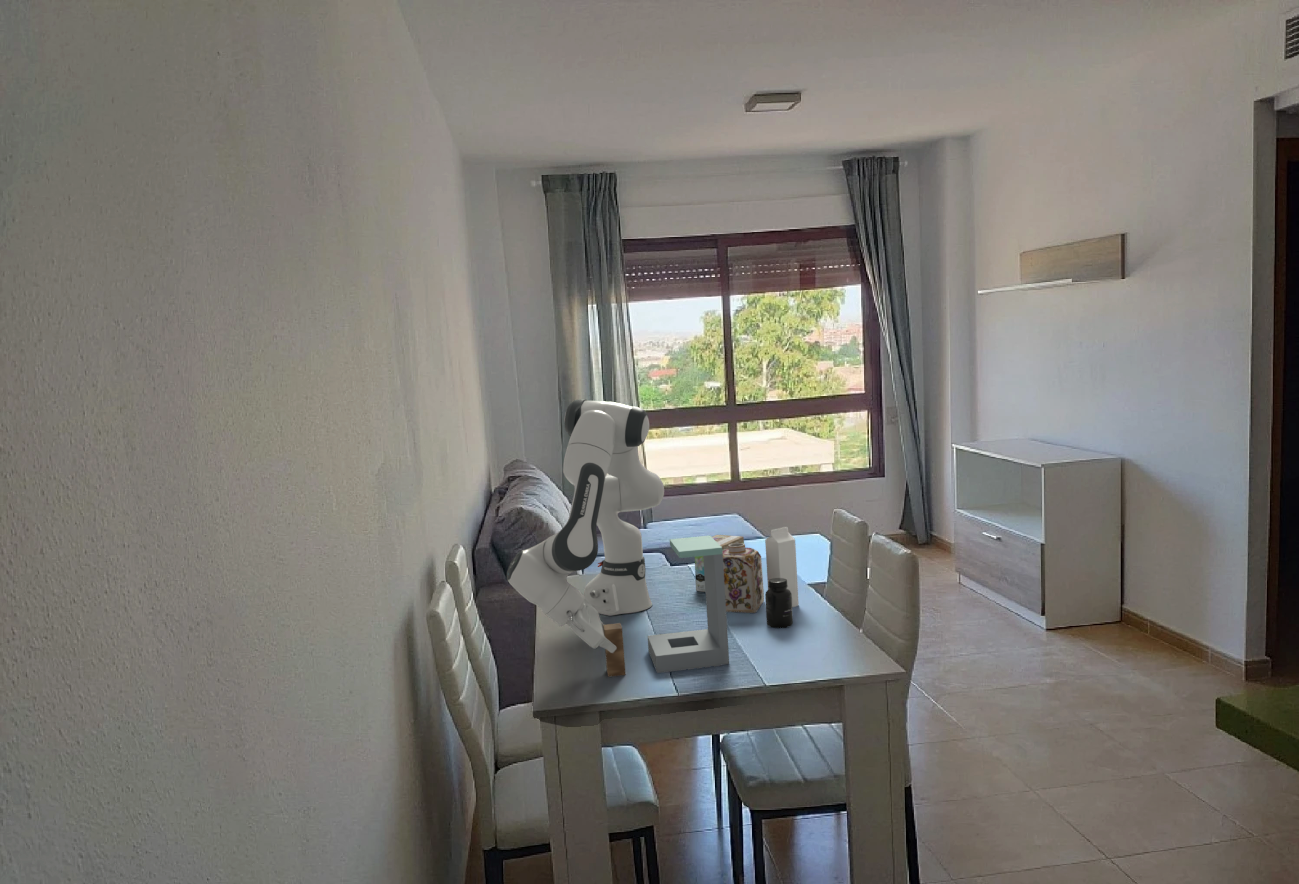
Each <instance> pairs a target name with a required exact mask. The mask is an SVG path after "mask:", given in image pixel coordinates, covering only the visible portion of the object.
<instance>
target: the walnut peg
mask: <svg viewBox="0 0 1299 884" xmlns="http://www.w3.org/2000/svg"><path fill="white" fill-rule="evenodd" d="M603 628H604V636H605V637H606V639H608V640H609V641H611V642H613V643H614V644H615V645H616V650H615V651H614V652H613V653H610V652H609V651H608V650H607V649H605V648H604V654H605V664H606V672H607V673H606V674H607V677H608V678H609V677H618V676H619V677H621V676H625V675H626V664H625V663H626V662H625V661H626V659H625V649H624V647H625V646H624V635H623V634H624V633H623V627H622V624H621V622H618V623H608V624H604V625H603Z"/></svg>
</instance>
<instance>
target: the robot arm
mask: <svg viewBox="0 0 1299 884" xmlns="http://www.w3.org/2000/svg"><path fill="white" fill-rule="evenodd" d="M563 420H564V430H565V432H566V433H567V434H568V436H569V437H570V438H569V440H568V443H567V445H566V446H567V447H566V450H565V454H564V459H563V466H562V472H563V475H564V477H565V478H566V480H567V481H568V483H570V484H571V485H572V486H574V492H573V497H572V503H571V507H570V511H569V515H568V516H569V517H568V519H567V521H566V523H565V525H563V527H561V529H560V530H559V531H558V532H556V533H554V534H552V535H551V536H549V537H547V538H546V539H544V540H543V541H541V542H540V543H538V544H536V545H534V546H531V547H529V548H526V549H521V550H519V551H518V552H517V553H516V554H515V555H514V557H513V558H512V560H511V561H510V563H509V565H508V567H507V569H506V579H507V581H508V583H509V584H510V586H512V588H513V589H514V590H515V591H516V592H517V593H519V594H520V596H522V597H523V598H524V599H526V600H527V601H528V602H529V603H531V604H533V605H535V606H537V607H538V608H539V610H541V612H542V613H543V614H544V615H546V616H547V617H548V618H549V619H550V620H552V621H553V622H554V623H556V624H557V625H558V626H559V627H563V626H564V625H566V626H568V627H569V628H570V629H571V631H572V632H573V634H575V635H576V636H577V637H579V639H581V641H583V642H584V643H585V644H587V645H588V646H589V647H590V648H592V649H594V650H595V649H597V648H598V647H600V648H603V649H604V650H605V649H607V650H608V651H609V652H610V653H613V652H614V651H615V650H616V645H615V644H614V643H613V642H611V641H609V640H608V639H606V637H605V636H604V628H603V625H605V623H604V622H602V621H601V618H600V614H601V615H605V616H617V615H621V614H624V615H625V614H633V613H638V612H641V611H645V610H647V609H650V608H651V607H652V606H653V603H652V600H651V597H650V594H649V590H648V585H647V580H646V561H645V559H646V558H645V556H644V553H643V551H644V550H643V539H642V532H641V530H640V529H639V528H638V527H637V526H635V525H633V524H631V523H629V522H627V521H625V520H622V519H620V517H619V515H618V514H619V513H624V512H635V511H636V512H637V511H645V510H648V509H652V508H655V507H658V506H659V505H660V504H661V503H662V500H664V499H663V498H664V497H665V485H664V483H663V480H662V479H661V478H660V476H659V475H658V474H657V473H655V472H653V471H650V470H648V469H647V468H646V467H645V466H644V465H643V464H642V463H641V460H640V458H639V450H638V449H639V448H638V447H640V446H641V445H642V444H644V442H645V441H646V438H647V436H648V435H649V431H650V421H649V415H648V413H647V412H646V411H645V409H644V408H642V407H638V406H636V405H633V406H632V405H628V404H624V403H620V402H614V401H604V400H587V399H585V398H581V399H574V400H572V402H570V403H569V404H568V406H567V409H566V411H565V413H564V419H563ZM597 527H598V530H599V531H600V534H601V538H602V544H603V551H604V552H603V553H604V559H603V560H601V561H600V562H598V563H597V568H600V572H599V573H598V574H597V575H596V576H595V577H593V578H592V579H591V580H590V581H589V582H588V583H587V584H586V585H585V587H584V591H583V593H582V592H581V591H580V590H579V589H578V588H576V587H575V586H574V585H573V584H571V583H570V582H569V581H568V580H567V579H568V577H569V575H570V574H572V573H574V572H579V571H584V570H585V569H588V568H589V567H590V566H592V564H593V563H594V562H595V560H596V559H597V557H598V556H597V555H598V553H599V541H598V534H597Z"/></svg>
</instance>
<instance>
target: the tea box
mask: <svg viewBox="0 0 1299 884" xmlns="http://www.w3.org/2000/svg"><path fill="white" fill-rule="evenodd" d="M711 537H712V538H713V539H714V540H715V541H716V542H717V543H718V544H719V545H720V546H721V547H722V550H724V549H728V545H730V544H733V543H744V544H745V539H744V536H741V535H740V536H739V535H725V534H716V535H713V536H711ZM694 572H695V574H694V576H695V591H697V592H701V593H703V592H704V593H706V591H705V576H704V560H703V556H697V557H694Z"/></svg>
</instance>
